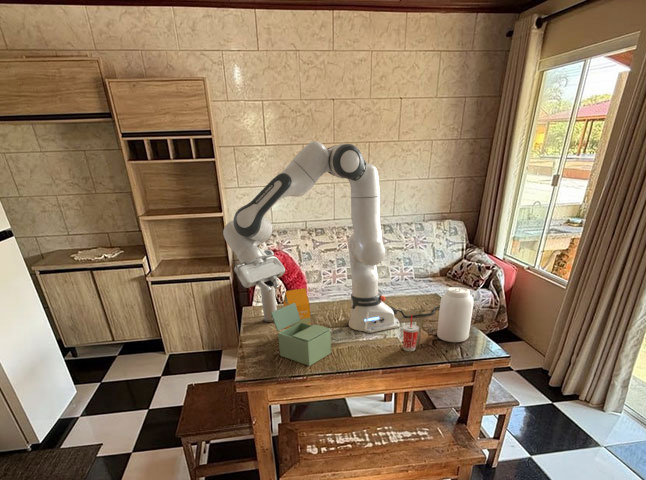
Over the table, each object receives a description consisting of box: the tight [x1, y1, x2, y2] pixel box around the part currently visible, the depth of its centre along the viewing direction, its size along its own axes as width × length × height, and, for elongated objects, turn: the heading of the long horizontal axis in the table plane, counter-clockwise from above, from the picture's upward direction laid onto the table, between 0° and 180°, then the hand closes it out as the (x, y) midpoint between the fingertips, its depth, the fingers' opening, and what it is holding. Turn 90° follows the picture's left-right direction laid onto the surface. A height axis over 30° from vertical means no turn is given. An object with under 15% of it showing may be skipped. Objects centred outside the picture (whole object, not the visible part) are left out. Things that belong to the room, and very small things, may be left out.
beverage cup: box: [402, 314, 420, 352], centre depth 155 cm, size 6×6×14 cm
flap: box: [271, 303, 301, 332], centre depth 156 cm, size 7×13×1 cm
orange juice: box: [283, 287, 312, 329], centre depth 169 cm, size 8×9×20 cm
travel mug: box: [260, 280, 278, 323], centre depth 185 cm, size 6×7×20 cm
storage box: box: [277, 322, 332, 367], centre depth 155 cm, size 15×13×10 cm
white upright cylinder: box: [436, 286, 475, 343], centre depth 162 cm, size 12×12×20 cm
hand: (273, 289), depth 154 cm, fingers open, 3 cm apart
